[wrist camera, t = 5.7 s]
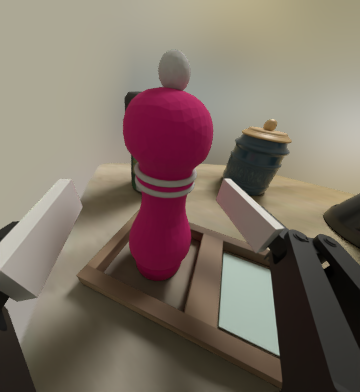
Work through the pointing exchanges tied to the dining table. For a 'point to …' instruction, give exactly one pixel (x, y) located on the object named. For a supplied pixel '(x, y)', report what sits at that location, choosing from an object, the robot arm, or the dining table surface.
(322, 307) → the robot arm
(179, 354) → the dining table surface
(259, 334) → the pad
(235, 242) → the brown wooden frame
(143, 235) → the pepper mill
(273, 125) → the canister
